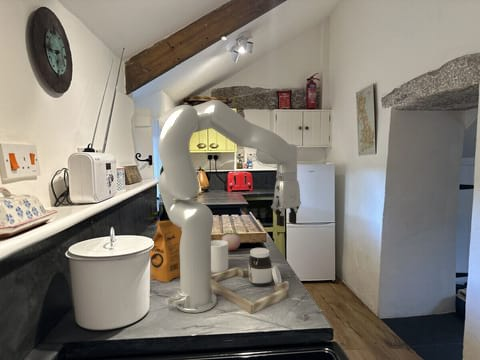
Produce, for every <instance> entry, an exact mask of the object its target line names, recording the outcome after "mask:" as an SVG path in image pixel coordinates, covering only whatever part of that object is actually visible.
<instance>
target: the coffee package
mask: <svg viewBox="0 0 480 360" xmlns="http://www.w3.org/2000/svg"><path fill="white" fill-rule="evenodd" d="M155 226H157V229H156V233H155V236H154V237H153V239H152V241H154V247H153V249H152V250H151V251H150V250H149V260H150V259H151V276H150V278H151V279H152V280H156V281H158V282H160V283H169V282H171V281H172V280H173V279H177V278H179V277H180V239H181V234H182V229H181V228H179V227H177V226H175V225H174V224H173V223H172V222H171V221H170V219H168V220H162V221H161V220H160V221H156V222H155Z"/></svg>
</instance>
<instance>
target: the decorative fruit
mask: <svg viewBox="0 0 480 360" xmlns="http://www.w3.org/2000/svg"><path fill="white" fill-rule="evenodd" d="M221 236H222V237H221V240H223V241H227V242H228V251H230V252H233V251H235V250H237V249H238V248H239V247H240V245H241V237H240V236H242V235H241V234H240V233H239V232H236V231H235V232H233V231H232V230H230V232H223V233H222V234H221Z"/></svg>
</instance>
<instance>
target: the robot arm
mask: <svg viewBox="0 0 480 360" xmlns="http://www.w3.org/2000/svg"><path fill="white" fill-rule="evenodd" d="M158 127H159V130H160V135H159V138H158V154H159V158H160V160H161V161H160V163H161V164H162V168H163V171H162V172H161V173H160V175H159V178H158V190H159V193H160V197H161V200H162V203H163V206H164V209H165V212H166V213H167V217H168V220H170V221H171V222H172V223H173V224H174V225H175V226H177V227H179V228H181V230H182V234H181V239H180V276H179V277H180V278H179V280H180V284H179V285H180V289H177V293H175V294H174V295H173V296H169V297H166V298H165V299H164V301H165V304H166V305H167V306H169V305H172V304H173V306H174V307H176V308H177V309H179V311H182V312H185V313H187V314H188V313H189V314H196V313H198V314H199V313H202V312H206V311H209V310H210V309H213V307H215V305H217V302H218V301H217V299H218V298H217V295H216V294H215V293H214V292H212V291H213V290H212V286H211V275H212V272H211V241H212V233H213V232H212V231H213V226H214V215H213V212H212V210H211V208H209V207H208V205H206V204H204V203H202V202H199V201H195V200H193V199H194V198H195V197H197V196H198V194H199V192H200V183H199V182H200V181H199V179H198V176H197V172H196V169H195V166H194V162H193V159H192V155H191V151H190V143H191V139H192V137H193V134H194V133H198V132H201V131H205V130H206V131H207V130H211V129H212V130H214V131H216V132H217V133H218V134H221V135H222V136H223V137H225V138H226V139H228V141H230V142H232V143H233V144H235V145H237V146H240V147H244V148H248V149H255V150H256V151H255V157H256V159H257V161H258V162H259V163H261V164H263V165H276V176H275V178H276V182H275V185H274V193H273V194H274V195H273V196H274V198H273V201H274V202H273V203H272V205H271V206H270V208H271V210H273V212H274V214H275V215H276V226H277V227H284V226H285V215H284V212H285V210H286V209H289V211H288V212H289V213H288V223H289V224H296V225H297V214H298V212H299V211H298V210H299V209H300V206H301V204H302V201H301V190H300V183H299V180H298V147H297V145H295V144H294V143H293V144H292V143H289V142H287V140H285V139H284V138H282V137H281V136H280V135H278V134H277V133H275V132H273V131H271V130H269V129H267V128H264V127H262V126H259V125H257V124H253V122H252V123H251V122H250V121H248V119H246V118H244V117H243V116H242V115H240V114H239V113H238V112H236V111H235V110H234V109H233V108H231V107H230V106H228V105H227V104H226V103H224V101H223V102H222V100H217V99H212V100H208V101H206V102H203V103H202V102H201V103H200V104H199V103H198V104H197V105H193V106H192V105H189V104H182V105H178V106H175V107H173V108H171V109H168V110H166V111H164V112H163V113H162V114H161V115H160V116H159V119H158Z"/></svg>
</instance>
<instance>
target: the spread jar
mask: <svg viewBox="0 0 480 360" xmlns="http://www.w3.org/2000/svg"><path fill="white" fill-rule="evenodd" d="M249 252H250V253H249V254H250V255H249V257H248V267H247V268H248V270H249V276H248V278H249V279H248V280H249V282H250V284H251V285H253V286H255V287H265V286H268V285H270V284H271V283H272V281H274V284H275V285H278V284H280V283H283V281H282V277H281V272H280V269H279V267H278V266H277V265H274V266H272V265H273V264H272V260H271V257H270V250H269V249H268V248H265V247H255V248H251V249H250V251H249Z"/></svg>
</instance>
